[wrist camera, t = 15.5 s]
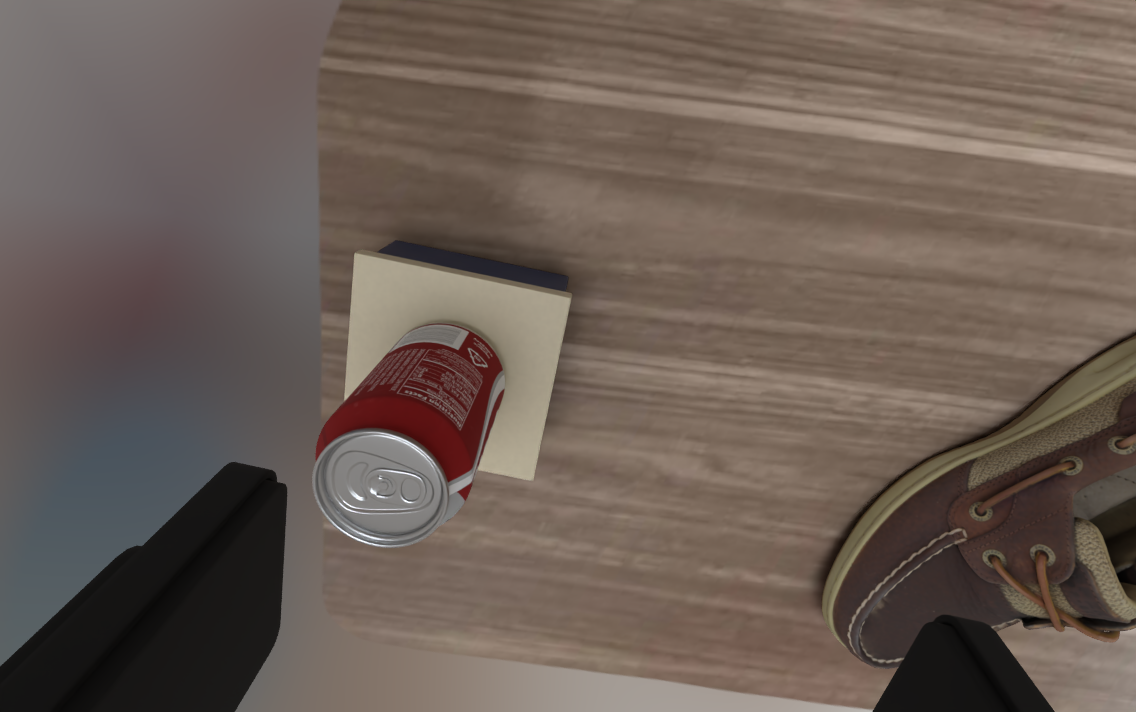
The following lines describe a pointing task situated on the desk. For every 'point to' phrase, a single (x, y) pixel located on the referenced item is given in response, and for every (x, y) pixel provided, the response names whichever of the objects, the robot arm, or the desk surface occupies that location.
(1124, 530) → the boat shoe
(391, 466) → the soda can
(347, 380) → the navy box with lid
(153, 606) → the robot arm
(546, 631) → the desk surface
